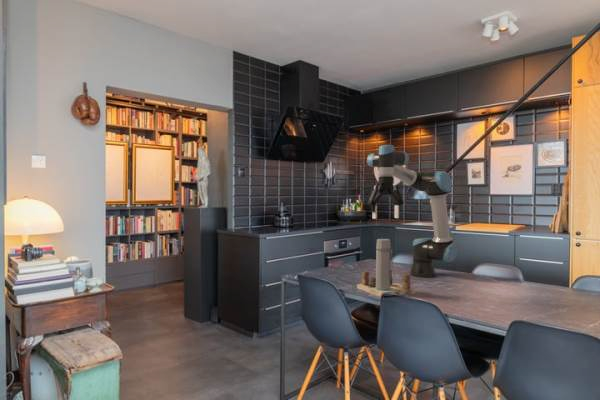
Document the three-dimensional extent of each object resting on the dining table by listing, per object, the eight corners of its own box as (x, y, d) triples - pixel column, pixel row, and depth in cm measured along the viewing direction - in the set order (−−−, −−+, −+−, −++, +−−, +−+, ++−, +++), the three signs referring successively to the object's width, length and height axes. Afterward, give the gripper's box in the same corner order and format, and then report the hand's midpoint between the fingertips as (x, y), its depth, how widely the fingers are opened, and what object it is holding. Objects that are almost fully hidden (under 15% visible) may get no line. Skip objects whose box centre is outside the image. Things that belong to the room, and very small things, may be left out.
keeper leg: (368, 285, 204) (368, 277, 204) (389, 284, 208) (389, 275, 208) (371, 286, 201) (371, 278, 201) (392, 285, 205) (392, 276, 205)
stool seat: (389, 284, 217) (389, 268, 217) (414, 293, 198) (415, 275, 198) (357, 287, 208) (357, 271, 208) (380, 297, 189) (381, 278, 189)
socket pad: (386, 286, 203) (386, 286, 203) (399, 291, 194) (399, 290, 194) (370, 288, 199) (370, 287, 199) (382, 293, 190) (382, 292, 190)
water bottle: (373, 289, 195) (373, 239, 195) (378, 286, 202) (378, 238, 202) (391, 291, 191) (392, 241, 190) (395, 288, 198) (396, 239, 197)
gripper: (401, 177, 204) (400, 217, 205) (361, 175, 194) (360, 218, 194) (410, 176, 198) (410, 218, 198) (369, 175, 187) (369, 219, 188)
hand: (385, 218), depth 196 cm, fingers open, 13 cm apart
